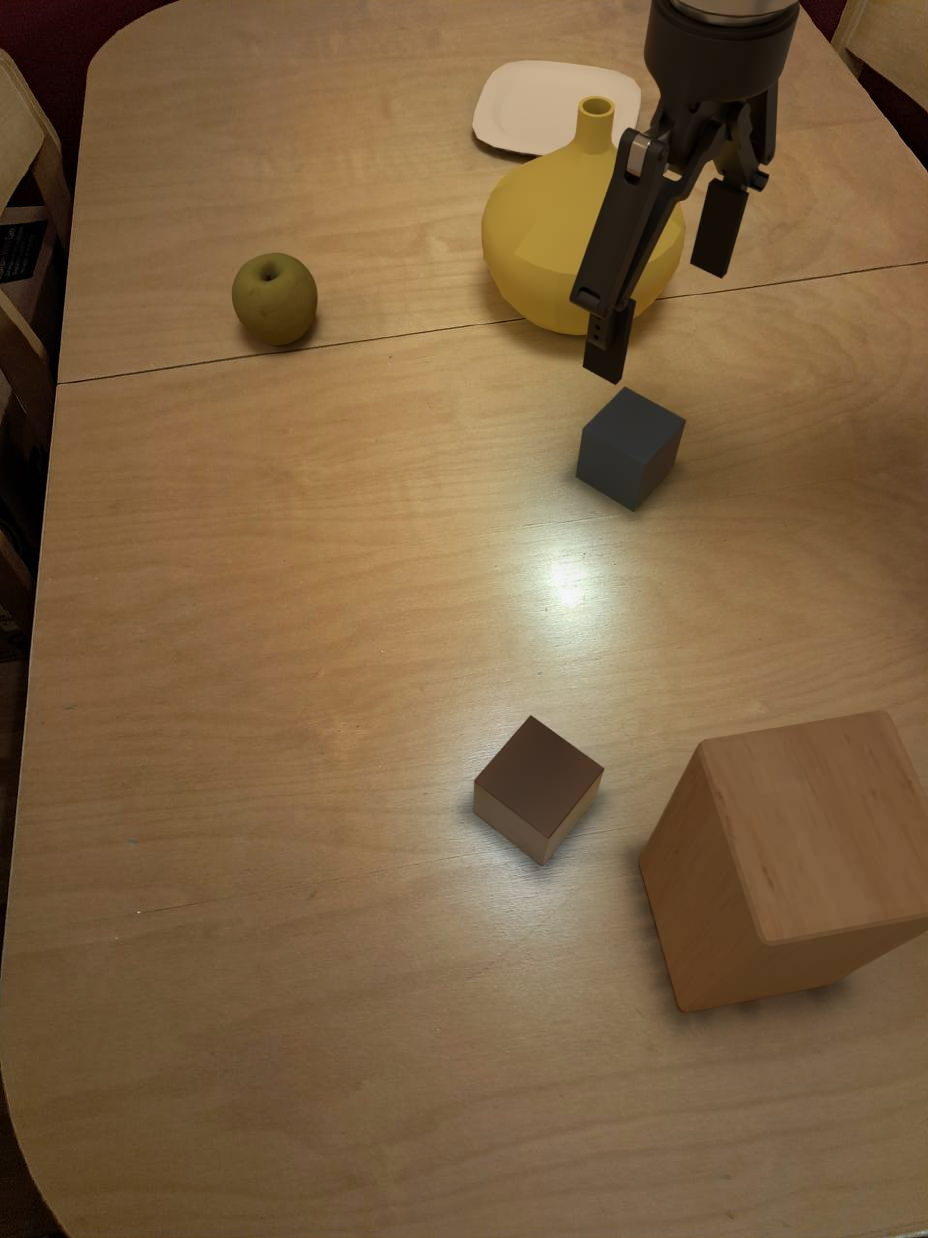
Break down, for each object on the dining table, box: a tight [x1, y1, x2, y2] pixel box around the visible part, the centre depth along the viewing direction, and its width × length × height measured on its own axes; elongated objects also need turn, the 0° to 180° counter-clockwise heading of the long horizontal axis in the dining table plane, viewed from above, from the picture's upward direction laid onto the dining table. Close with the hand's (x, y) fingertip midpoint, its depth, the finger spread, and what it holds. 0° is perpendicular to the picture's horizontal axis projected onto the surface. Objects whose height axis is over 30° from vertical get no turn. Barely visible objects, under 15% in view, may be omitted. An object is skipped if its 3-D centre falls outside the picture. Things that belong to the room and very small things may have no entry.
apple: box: [231, 252, 319, 346], centre depth 86 cm, size 8×8×7 cm
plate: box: [471, 59, 642, 158], centre depth 106 cm, size 18×18×2 cm
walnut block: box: [473, 714, 605, 867], centre depth 62 cm, size 6×6×6 cm
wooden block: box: [638, 709, 928, 1013], centre depth 52 cm, size 10×10×20 cm
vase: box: [480, 96, 687, 336], centre depth 83 cm, size 18×18×19 cm
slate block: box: [575, 385, 687, 512], centre depth 78 cm, size 6×6×6 cm
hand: (657, 319), depth 66 cm, fingers open, 13 cm apart
